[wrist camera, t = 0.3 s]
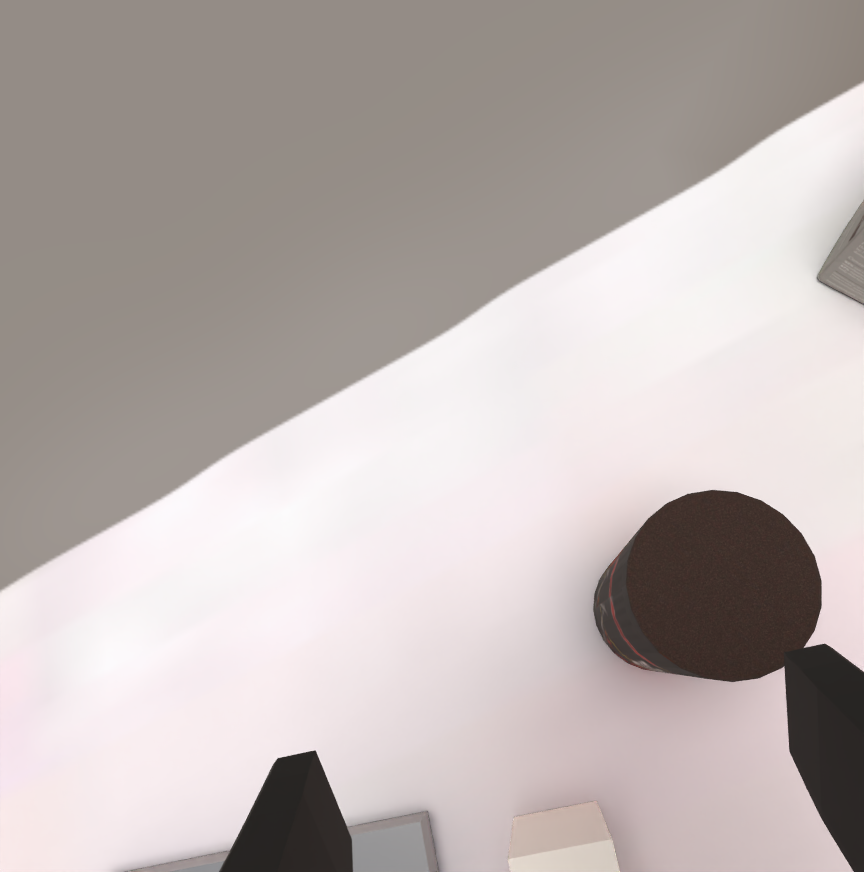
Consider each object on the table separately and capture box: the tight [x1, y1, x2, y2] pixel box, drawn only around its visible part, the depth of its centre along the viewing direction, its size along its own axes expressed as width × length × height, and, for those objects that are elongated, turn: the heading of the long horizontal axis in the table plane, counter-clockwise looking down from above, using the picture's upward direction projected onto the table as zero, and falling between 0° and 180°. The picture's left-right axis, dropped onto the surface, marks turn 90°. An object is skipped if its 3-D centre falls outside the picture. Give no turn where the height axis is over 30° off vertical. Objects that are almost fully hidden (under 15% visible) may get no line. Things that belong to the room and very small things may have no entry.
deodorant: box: [593, 490, 822, 682], centre depth 32 cm, size 6×6×15 cm
